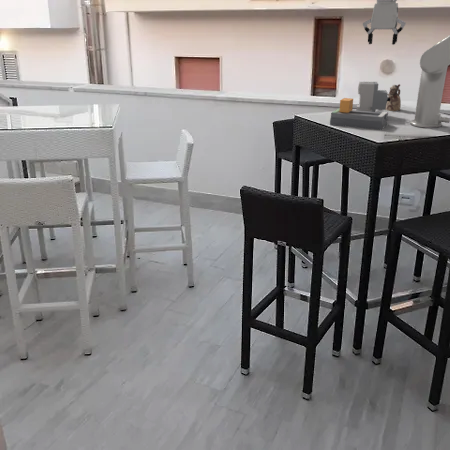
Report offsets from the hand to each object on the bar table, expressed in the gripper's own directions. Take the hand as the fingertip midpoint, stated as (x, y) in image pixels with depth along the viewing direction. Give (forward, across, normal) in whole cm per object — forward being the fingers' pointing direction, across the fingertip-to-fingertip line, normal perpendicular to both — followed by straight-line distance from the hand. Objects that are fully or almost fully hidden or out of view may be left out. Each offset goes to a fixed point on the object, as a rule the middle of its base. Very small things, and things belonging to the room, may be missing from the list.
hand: (381, 44), depth 206 cm
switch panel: (+32, +4, +11) cm, 34 cm away
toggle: (+29, +10, +11) cm, 32 cm away
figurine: (+32, -2, -28) cm, 43 cm away
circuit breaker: (+32, +3, -9) cm, 34 cm away
